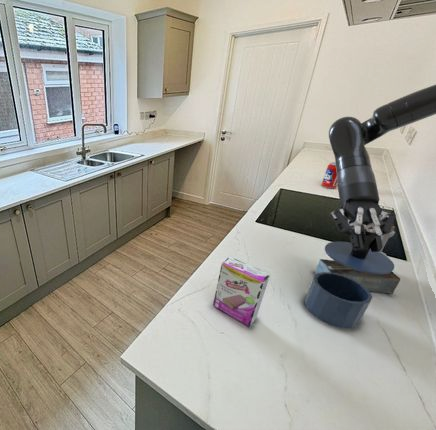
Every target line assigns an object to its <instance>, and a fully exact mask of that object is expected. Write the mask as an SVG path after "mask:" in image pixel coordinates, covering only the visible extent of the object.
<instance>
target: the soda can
mask: <svg viewBox="0 0 436 430" xmlns="http://www.w3.org/2000/svg"><path fill="white" fill-rule="evenodd" d="M320 186H321V187H323V188H325V189H329V190H330V189H331V190H332V189H333V190H334V189H336V188H338V186H337V171H336V164H335V161H333V162H330V163H329V164H328V165H327V167H326V169H325V172H324V175H323V178H322V181H321V185H320Z"/></svg>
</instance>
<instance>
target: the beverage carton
mask: <svg viewBox="0 0 436 430" xmlns="http://www.w3.org/2000/svg"><path fill="white" fill-rule="evenodd" d="M322 272H332V273H336V274H341V275H344V276H346V277H349V278H352V279H354V280H355V281H357V282H359V283H361V284H362V285H363V286H365V287H366V288H367V289H368V290H369V291H370V292H375V293H383V294H391V295H394V293H395V290H396V289H397V287H398V285H399V283H400V282H401V277H399V276H398V275H397V274H396V273H394V271H392V272H390V273H387V274H371V273H365V272H361V271H357V270H354V269H351V268H349V267H346V266H344V265H342V264H340V263H338V262H336V261H334V260H333V259H324V258H319V261H318V264H317V266H316V268H315V272H314V273H315V275H316V274H318V273H322Z"/></svg>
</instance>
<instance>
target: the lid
mask: <svg viewBox="0 0 436 430" xmlns="http://www.w3.org/2000/svg"><path fill="white" fill-rule="evenodd" d="M359 235H362V240H363V246H364V249H363V250H360V251H356V250H354V248H353V247H352V245H351V242H348V241H331V242H328V243H327V244H326V245H325V246H324V251H325V254H326V255H327V256H328V257H329V258H330V259H331V260H334V261H336V262H338V263H340V264H342V265H344V266H346V267H349V268H351V269H354V270H357V271H361V272H365V273H371V274H387V273H390V272H394V270H395V263H394V262H393V261H392V260H391V258H390V257H388V255H387V256H385V255H383V254H382V253H380V252H372V251H371V246H372V244H373V242H374V240H375V238H376V235H375V234H373V233H371V232H368V231H367V230H361V232H360V234H359Z"/></svg>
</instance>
